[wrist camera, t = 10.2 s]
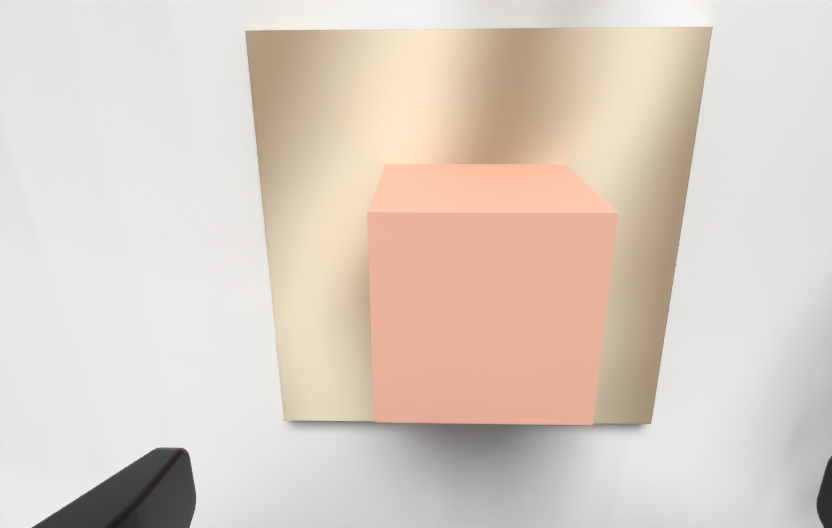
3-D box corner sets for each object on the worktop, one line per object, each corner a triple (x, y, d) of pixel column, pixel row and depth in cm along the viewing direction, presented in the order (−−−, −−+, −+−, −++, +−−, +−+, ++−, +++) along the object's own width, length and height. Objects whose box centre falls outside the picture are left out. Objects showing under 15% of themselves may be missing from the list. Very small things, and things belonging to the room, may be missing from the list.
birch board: (702, 27, 16) (712, 26, 15) (644, 413, 20) (650, 423, 19) (251, 30, 16) (245, 30, 16) (288, 409, 20) (284, 420, 20)
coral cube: (565, 164, 17) (617, 213, 12) (552, 326, 18) (593, 425, 14) (385, 163, 17) (367, 212, 12) (388, 325, 18) (373, 422, 14)
